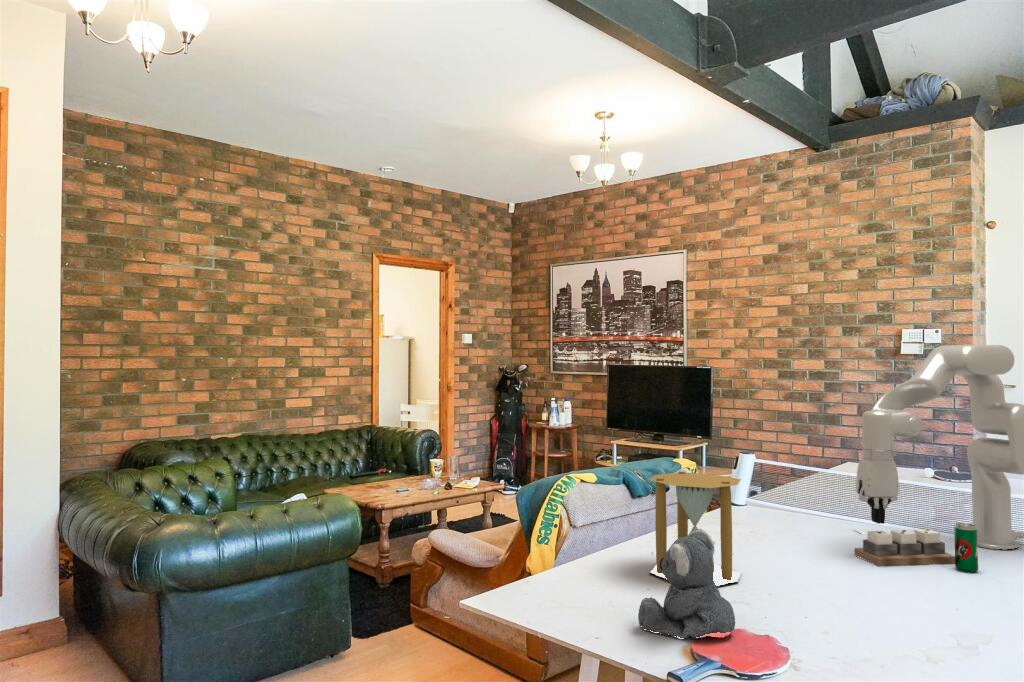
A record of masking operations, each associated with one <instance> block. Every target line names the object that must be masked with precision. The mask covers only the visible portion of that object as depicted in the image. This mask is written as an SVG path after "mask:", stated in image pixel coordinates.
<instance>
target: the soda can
mask: <svg viewBox="0 0 1024 682" xmlns="http://www.w3.org/2000/svg"><path fill="white" fill-rule="evenodd" d="M953 527H954V529H953V532H954V556H955V564H954V567H955V568H956V570H957V571H958V572H962V571H963V572H962V573H968V572H969V573H970V574H973V573H977V572H978V571H979V549H978V547H979V546H978V540H977V529H976V527H975V525H974V524H973V523H969V522H956V523H955V526H953ZM969 573H968V574H969Z"/></svg>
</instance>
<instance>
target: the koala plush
mask: <svg viewBox="0 0 1024 682" xmlns="http://www.w3.org/2000/svg"><path fill="white" fill-rule="evenodd" d="M697 529H698V531H697V530H694V532H692V531H691V530H690V532H691V534H690V535H689V534H688V535H689V537H683V538H682V537H681V538H679V539H678V538H677V539H675V541H673V543H672V544H671V545H670V547H669V548H668V550H667V553H666V555H665V557H663V558H662V559H661V560H660V569H661V570H662V572H663V574H664V575H665V577H666V578H667V580H668V581H667V580H666V581H667V582H669V584H670V585H669V587H668V590H667V592H666V595H665V597H664V601H663V606H662V605H661V604H660V603H659V601H658V600H657V599H655V598H654V597H652V596H651V597H644V598H643V599H641V602H640V606H639V609H638V615H637V617H638V618H637V619H638V624H639V626H640V627H641V626H642V627H641V628H642V629H643V628H644V629H646V630H645V631H647V630H649V631H648V632H650V630H651V631H653V632H659V633H661V634H669V635H672V636H671V637H673V636H676V637H677V636H678V637H680V638H687V639H688V638H689V636H690V637H691V638H693V639H695V638H696V637H700V636H703V635H705V634H710V633H717V632H720V633H726V632H731V631H733V632H734V630H735V628H736V617H735V612H734V608H733V606H732V604H731V603H730V601H729V600H727V599H726V598H725V597H723V596H722V595H721V592H720V590H719V589H718V587H716V585H715V583H714V581H713V572H714V569H713V561H714V554H715V543H716V541H714V540H713V539H712V538H711V537H712V536H711V535H709V534H708V533H709V532H707V531H706V530H704V529H702V528H697ZM712 557H713V559H712ZM644 629H643V630H644ZM731 633H732V632H731Z"/></svg>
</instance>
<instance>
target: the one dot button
mask: <svg viewBox="0 0 1024 682" xmlns="http://www.w3.org/2000/svg"><path fill="white" fill-rule="evenodd" d="M866 531H867V533H866V536H867V541H869V542H872V543H874V544H876V545H883V544H892V534H891V533H889V532H887V531H884V530H866Z"/></svg>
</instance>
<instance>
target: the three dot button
mask: <svg viewBox="0 0 1024 682" xmlns="http://www.w3.org/2000/svg"><path fill="white" fill-rule="evenodd" d="M890 534H892V541H895V542H898V543H900V544H912V543H916V534H915V533H914V532H911V531H909V530H907V529H897V530H896V529H895V530H894V529H892V530H890Z"/></svg>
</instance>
